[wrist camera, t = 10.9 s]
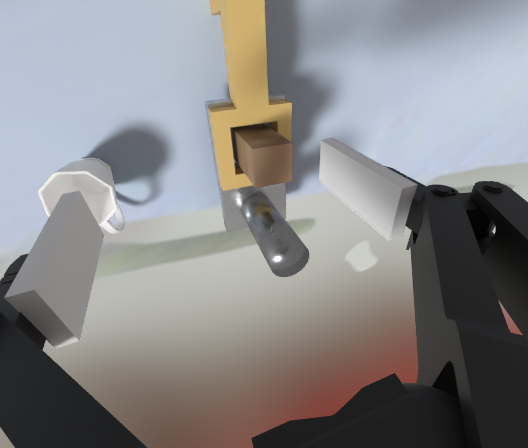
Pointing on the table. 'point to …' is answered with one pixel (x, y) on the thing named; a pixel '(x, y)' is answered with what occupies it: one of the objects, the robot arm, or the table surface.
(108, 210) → the cup
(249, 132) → the pin
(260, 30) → the bracket
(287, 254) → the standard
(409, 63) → the table surface
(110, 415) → the robot arm
